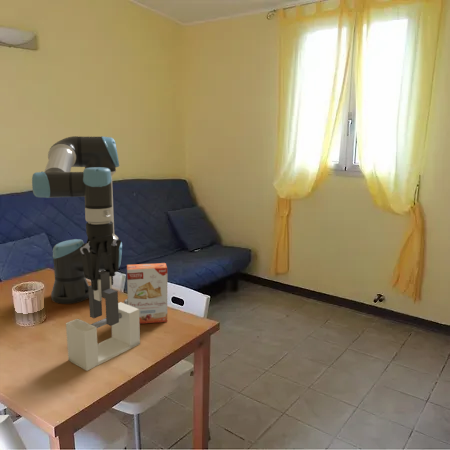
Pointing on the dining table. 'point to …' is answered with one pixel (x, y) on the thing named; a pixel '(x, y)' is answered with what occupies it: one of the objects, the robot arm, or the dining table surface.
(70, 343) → the cream rod holder
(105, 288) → the grey zigzag block
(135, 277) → the cracker box
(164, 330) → the dining table surface
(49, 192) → the robot arm
